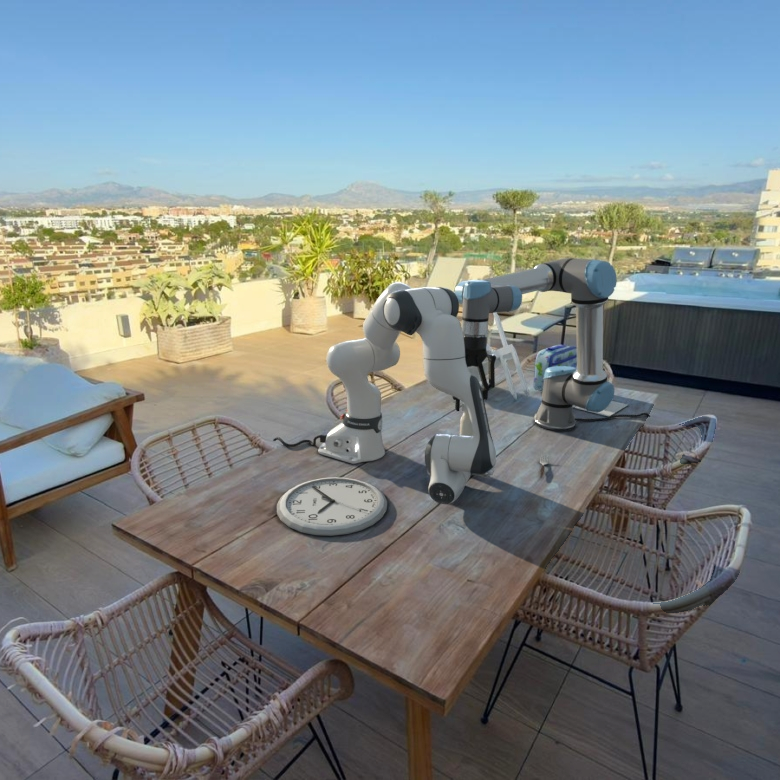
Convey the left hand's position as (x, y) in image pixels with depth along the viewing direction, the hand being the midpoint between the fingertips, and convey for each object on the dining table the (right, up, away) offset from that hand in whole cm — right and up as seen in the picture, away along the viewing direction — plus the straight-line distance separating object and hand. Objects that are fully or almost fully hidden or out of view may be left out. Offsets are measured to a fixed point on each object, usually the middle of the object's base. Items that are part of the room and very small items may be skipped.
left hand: (466, 451), depth 163 cm
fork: (+25, -6, +3) cm, 26 cm away
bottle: (0, -6, +1) cm, 6 cm away
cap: (0, +15, -6) cm, 16 cm away
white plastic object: (+18, +18, +80) cm, 84 cm away
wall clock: (-40, -12, -21) cm, 46 cm away
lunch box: (+54, +19, +86) cm, 104 cm away
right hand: (0, +13, -5) cm, 14 cm away
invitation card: (+67, +12, +63) cm, 93 cm away
